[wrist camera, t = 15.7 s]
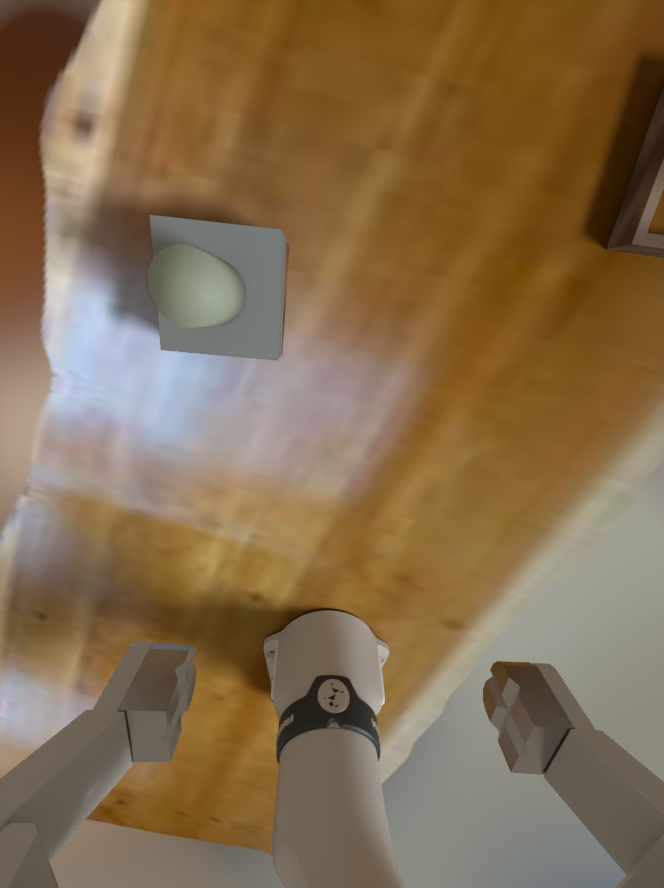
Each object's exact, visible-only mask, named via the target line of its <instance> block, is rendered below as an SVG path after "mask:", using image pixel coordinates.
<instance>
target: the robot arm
mask: <svg viewBox="0 0 664 888" xmlns="http://www.w3.org/2000/svg"><path fill="white" fill-rule="evenodd" d="M263 649H264V654H265V658H266V663H267V667H268V672H269V676H270V681H271V686H272V687H271V699H272V700H273V701H274V707H275V710H276V713H277V716H278V719H279V728H278V733H277V742H276V747H277V754H276V755H277V761H278V764H279V771H278V782H277V793H276V804H275V815H274V826H273V837H272V857H273V862H274V866H275V869H276V872H277V874H278V876H279V878H280V880H281V881H282V883H283V885H284V886H285V887H286V888H406V886H405V884H404V881H403V878H402V876H401V873H400V871H399V868H398V865H397V862H396V858H395V855H394V851H393V847H392V843H391V839H390V835H389V829H388V824H387V818H386V812H385V806H384V800H383V794H382V786H381V780H380V772H379V765H378V761H379V758H380V734H379V729H378V726H377V718H376V715H377V714H378V713H379V711H380V710H381V707H382V705H383V704H384V702H385V696H384V686H383V678H382V667H383V665H384V663H385V661H386V659H387V657H388V655H389V648H388V645H387V644H386V643H385V642H383V641H381V640H380V639H378V638H376V637H375V636H374V634H373V633H372V631H371V630H370V628H369V627H368V626H367V625H366V624H365V623H364V622H363V621H362V620H360V619H359V618H357V617H355V616H353V615H350V614H348V613H344V612H340V611H329V610H328V611H316V612H312V613H308V614H305V615H303V616H300V617H299V618H297V619H295V620H294V621H292V622H291V623H290V624H289V625H287V626H286V627H285V628H284V629H283V630H282V631H280V632H278V633H276V634H273V635H271V636H269V637H267V638H266V639H265V640H264V645H263ZM195 655H196V654H195V646H188V645H175V644H162V643H149V642H133V644H132V645H131V646H130V647H129V648H128V649H127V651H126V653H125V654H124V656H123V658H122V660H121V661H120V663H119V665H118V667H117V668H116V670H115V672H114V674H113V675H112V677H111V679H110V681H109V683H108V684H107V686H106V688H105V690H104V691H103V693H102V695H101V697H100V698H99V700H98V702H97V704H96V705H95V707H94V709H93V710H86V711H84V712H83V713H82V714H81V715H79V716H78V717H77V718H76V719H74V720H73V721H72V722H71V723H69V724H68V725H67V726H66V727H64V728H63V729H62V730H61V731H60V732H58V733H57V734H56V735H55V736H53V737H52V738H51V739H50V740H48V741H47V742H46V743H45V744H43V745H42V746H41V747H40V748H38V749H37V750H36V751H35V752H33V753H32V754H31V755H30V756H28V757H27V758H26V759H25V760H23V761H22V762H21V763H20V764H18V765H17V766H16V767H15V768H13V769H12V770H11V771H10V772H8V773H7V774H6V775H5V776H3V777H2V778H1V779H0V888H58V884H57V882H56V879H55V876H54V874H53V871H52V869H51V866H50V863H49V861H50V859H51V858H52V857H53V856H54V855H55V853H56V852H57V851H58V850H59V849H60V848H61V847H62V846H63V844H64V843H65V842H66V841H67V840H68V839H69V837H70V836H71V835H72V834H73V833H74V832H75V831H76V830H77V828H78V827H79V826H80V825H81V824H82V823H83V821H84V820H85V819H86V818H87V817H88V816H89V815H90V813H91V812H92V811H93V810H94V809H95V808H96V807H97V805H98V804H99V803H100V802H101V801H102V800H103V798H104V797H105V796H106V795H107V794H108V793H109V792H110V790H111V789H112V788H113V787H114V786H115V785H116V784H117V782H118V781H119V780H120V779H121V778H122V777H123V775H124V774H125V773H126V772H127V771H128V770H129V769H130V767H131V766H132V762H171V759H172V756H173V753H174V750H175V747H176V744H177V742H178V739H179V736H180V733H181V730H182V729H181V716H182V715H183V714H184V713H185V712H186V711H187V710H188V708H189V705H190V702H191V699H192V695H193V691H194V687H195V681H196V666H195V665H194V664H193V661H194V658H195ZM491 672H492V675H493V677H491V678H490V679H488V680H487V681H486V683H485V685H484V688H483V702H484V706H485V710H486V713H487V715H488V718H489V720H490V722H491V723H492V724H493V725H494V726H495V727H496V728H497V729H498V730H499V731H500V732H499V738H498V742H499V745H500V747H501V749H502V752H503V754H504V757H505V759H506V762H507V764H508V766H509V769H510V771H511V772H513V773H529V774H544V778H545V779H546V780H547V781H548V782H549V784H550V785H551V786H552V787H553V788H554V789H555V791H556V792H557V793H558V794H559V796H560V797H561V798H562V799H563V800H564V801H565V803H566V804H567V805H568V806H569V807H570V808H571V810H572V811H573V812H574V813H575V814H576V816H577V817H578V818H579V819H580V820H581V822H582V823H583V824H584V825H585V826H586V827H587V829H588V830H589V831H590V832H591V833H592V835H593V836H594V837H595V838H596V839H597V840H598V842H599V843H600V844H601V845H602V846H603V847H604V849H605V850H606V851H607V852H608V853H609V855H610V856H611V857H612V858H613V859H614V861H615V862H616V863H617V864H618V865H619V866H620V868H621V869H622V870H623V871H624V872H625V874H626V875H627V876H626V877H625V878H624V879H623V880H622V881H621V883H620V884H619V885H618V886H617V887H616V888H664V782H663V781H662V780H660V779H659V778H658V777H657V776H656V775H655V774H653V773H652V772H651V771H650V770H648V769H647V768H646V767H645V766H644V765H642V764H641V763H640V762H639V761H638V760H636V759H635V758H634V757H633V756H632V755H630V754H629V753H628V752H627V751H625V750H624V749H623V748H622V747H621V746H620V745H618V744H617V743H616V742H615V741H613V740H612V739H611V738H610V737H609V736H607V735H606V734H605V733H604V732H603V731H598V730H595V728H594V727H593V725H592V723H591V722H590V720H589V719H588V717H587V716H586V714H585V713H584V711H583V710H582V708H581V707H580V705H579V704H578V702H577V701H576V699H575V697H574V696H573V694H572V693H571V692H570V690H569V688H568V687H567V685H566V684H565V682H564V681H563V679H562V678H561V676H560V675H559V673H558V672H557V670H556V669H555V668H554V667H553V666H552V665H550V664H537V663H529V662H501V661H500V662H499V661H497V662H495V663H494V664H493V665H492V668H491Z"/></svg>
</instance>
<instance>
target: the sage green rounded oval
mask: <svg viewBox="0 0 664 888" xmlns="http://www.w3.org/2000/svg"><path fill="white" fill-rule="evenodd" d="M147 285H148V290H149V294H150V297H151V299H152V301H153V303H154V305H155V307H156V308H157V310H158V311H159V312H160V313H161V314H162V315H163V316H164V317H165V318H166V319H167V320H169V321H170V322H172V323H174V324H176V325H178V326H181V327H186V328H197V327H206V326H214V325H222V324H227V323H230V322H232V321H234V320H235V319H236V318H237V317H238V316H239V315H240V314H241V312H242V311H243V309H244V306H245V302H246V288H245V284H244V281H243V279H242V277H241V275H240V274H239V272H238V271H237V270H236V269H235V268H234V267H233V266H232V265H231V264H229V263H228V262H226V261H224V260H222V259H219V258H217V257H215V256H213V255H211V254H208V253H206V252H204V251H202V250H200V249H197V248H195V247H193V246H189V245H184V244H176V245H171V246H168V247H166V248H164V249H162V250H161V251H160V252H158V253H157V254H156V256H155V257H154V258H153V260H152V262H151V264H150V266H149V270H148V276H147Z"/></svg>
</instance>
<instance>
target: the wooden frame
mask: <svg viewBox="0 0 664 888" xmlns="http://www.w3.org/2000/svg"><path fill="white" fill-rule="evenodd" d="M663 189H664V86H663V89H662V92H661V94H660V97H659V100H658V103H657V106H656V109H655V112H654V114H653V117H652V120H651V123H650V126H649V129H648V131H647V134H646V137H645V140H644V143H643V146H642V148H641V151H640V154H639V157H638V160H637V163H636V165H635V168H634V171H633V174H632V177H631V180H630V183H629V185H628V188H627V191H626V194H625V197H624V200H623V202H622V205H621V208H620V211H619V214H618V217H617V219H616V222H615V225H614V228H613V231H612V234H611V236H610V239H609V242H608V245H607V248H606V249H607V250H614V251H621V252H628V253H635V254H642V255H650V256H657V257H664V235H659V234H652V233H647V231H648V229H649V226H650V223H651V221H652V218H653V216H654V213H655V210H656V208H657V205H658V203H659V200H660V197H661V195H662V192H663Z"/></svg>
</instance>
